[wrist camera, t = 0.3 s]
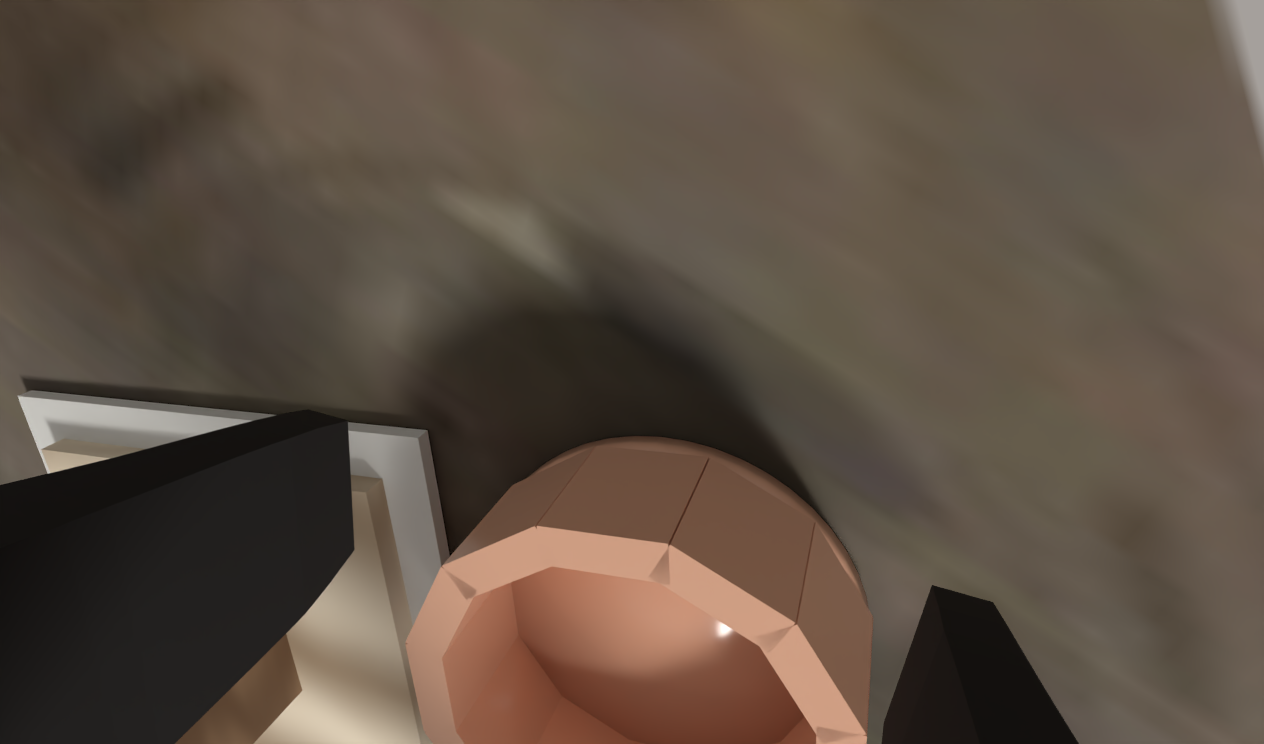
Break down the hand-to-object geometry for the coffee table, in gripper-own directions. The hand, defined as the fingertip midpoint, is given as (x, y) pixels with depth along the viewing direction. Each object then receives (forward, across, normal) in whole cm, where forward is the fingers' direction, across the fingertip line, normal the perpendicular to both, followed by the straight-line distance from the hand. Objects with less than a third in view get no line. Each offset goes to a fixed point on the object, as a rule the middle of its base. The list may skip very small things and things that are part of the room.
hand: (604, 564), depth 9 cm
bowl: (+10, +1, +9) cm, 14 cm away
